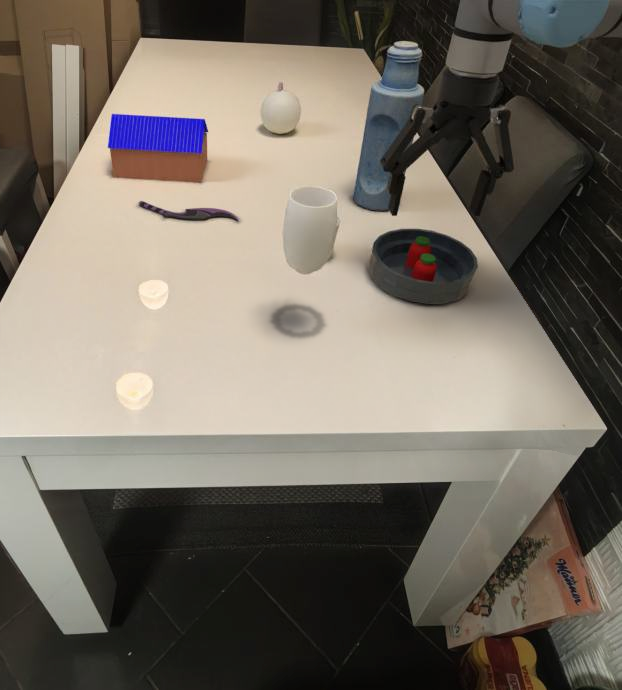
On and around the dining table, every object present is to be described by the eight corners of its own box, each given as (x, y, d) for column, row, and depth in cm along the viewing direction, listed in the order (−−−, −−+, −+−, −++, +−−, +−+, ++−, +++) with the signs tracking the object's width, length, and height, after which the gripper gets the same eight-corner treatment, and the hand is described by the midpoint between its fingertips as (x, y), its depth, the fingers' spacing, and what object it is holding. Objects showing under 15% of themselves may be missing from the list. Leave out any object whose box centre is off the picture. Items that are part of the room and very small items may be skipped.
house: (202, 183, 119) (200, 129, 112) (111, 177, 120) (104, 123, 112) (208, 160, 128) (208, 109, 121) (124, 155, 129) (118, 104, 121)
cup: (293, 300, 88) (306, 178, 75) (330, 319, 85) (351, 195, 71) (265, 321, 84) (274, 196, 70) (304, 342, 81) (321, 215, 67)
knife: (139, 203, 111) (133, 216, 108) (139, 199, 111) (133, 212, 107) (240, 212, 110) (237, 225, 107) (240, 208, 110) (237, 222, 106)
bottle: (405, 198, 117) (443, 42, 97) (387, 216, 111) (423, 53, 91) (364, 186, 121) (392, 33, 101) (344, 203, 114) (370, 43, 94)
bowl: (489, 281, 94) (498, 259, 91) (429, 320, 86) (436, 297, 83) (408, 240, 104) (414, 219, 101) (347, 271, 95) (351, 248, 92)
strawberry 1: (430, 265, 96) (438, 240, 93) (418, 272, 95) (425, 247, 91) (414, 256, 98) (420, 232, 95) (401, 263, 97) (407, 238, 93)
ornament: (258, 124, 147) (260, 77, 139) (296, 125, 148) (300, 77, 140) (261, 139, 139) (263, 89, 131) (301, 139, 140) (306, 90, 132)
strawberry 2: (436, 283, 92) (444, 258, 89) (423, 291, 90) (431, 266, 87) (418, 274, 94) (425, 249, 91) (405, 281, 92) (412, 256, 89)
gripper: (547, 64, 78) (498, 201, 92) (376, 61, 77) (353, 201, 91) (573, 79, 73) (517, 223, 87) (389, 76, 71) (362, 223, 85)
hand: (433, 212), depth 89 cm, fingers open, 13 cm apart
